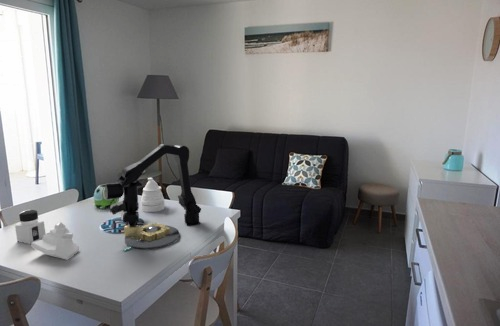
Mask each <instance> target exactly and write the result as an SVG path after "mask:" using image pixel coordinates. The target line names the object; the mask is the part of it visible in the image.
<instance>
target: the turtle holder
mask: <svg viewBox="0 0 500 326" xmlns="http://www.w3.org/2000/svg"><path fill="white" fill-rule="evenodd" d="M105 184H106V183H105ZM105 184H100V185H98V186H97V187H96V188H95V190H94V193H93V203H94V206H95V207H99V206H100V207H99V209H101V210H104V209H105V208H106V207H107V206H111V205H112V204H115V203H117V202H119V201H120V198H115V199H108V200H106V198H105V193H104V190H105V186H106V185H105Z"/></svg>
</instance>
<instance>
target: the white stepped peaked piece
mask: <svg viewBox="0 0 500 326" xmlns="http://www.w3.org/2000/svg"><path fill="white" fill-rule="evenodd" d="M73 237H74V234H73V233H71V232H70V230H69V229H68V227H67V226H66V225H65V224H64V223H63V222H61V221H60V222H59V223H56V224H55V226H53V227H52V228H51V229H50V230H49V232H46V233H45V235H44V236H43V238H42V239H40V240H38V241H35V242H32V243H31V244H30V248H33V249H34V250H36V251H39V252H41V253H42V254H45V255H46V256H51V257H54V258H55V257H56V258H58V259H61V260H67V261H68V259H69V258H70V259H71V258H72V257H73V256H75V255H76V254H77V253H78V252H79V251H80V246H79V245H77V244H76V243H74V241H73ZM74 254H75V255H74ZM70 259H69V260H70Z"/></svg>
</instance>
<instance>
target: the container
mask: <svg viewBox="0 0 500 326" xmlns="http://www.w3.org/2000/svg"><path fill="white" fill-rule="evenodd" d="M18 216H19V217H18V218H19V223H17V224H15V226H14V228H15V235H16V241H17V242H18V241H19V243H22V242H24V243H23V244H27V243H29V244H28V245H32V242H35V241H39V240H42V238H43V236H44V235H45V234H46V228H45V221H44V220H39V215H38V211H37V210H35V209H27V210H24V211H21V212H20V213H18Z"/></svg>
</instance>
